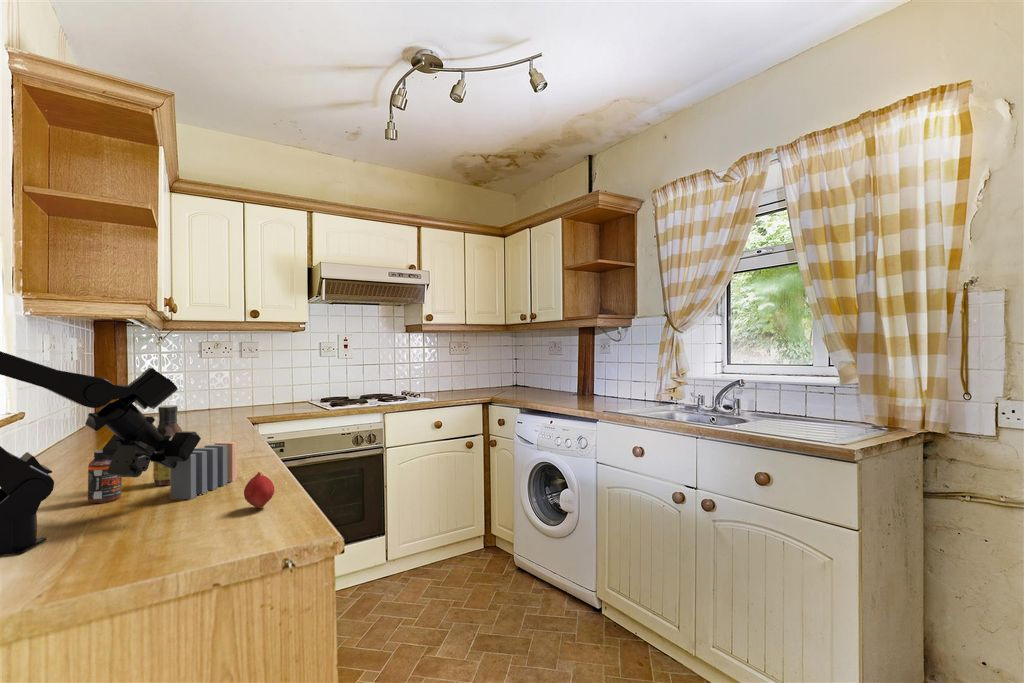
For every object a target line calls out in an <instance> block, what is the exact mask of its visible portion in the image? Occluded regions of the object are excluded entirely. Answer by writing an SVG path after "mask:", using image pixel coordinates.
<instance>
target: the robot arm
mask: <svg viewBox="0 0 1024 683" xmlns="http://www.w3.org/2000/svg"><path fill="white" fill-rule="evenodd" d="M0 375H1V376H4V377H7V378H11V379H14V380H17V381H21V382H24V383H27V384H31V385H34V386H38V387H41V388H43V389H46V390H48V391H49V392H52V393H53V394H56V395H58V396H60V397H61V398H64V399H66V400H68V401H71V402H72V403H75V404H76V405H78V406H81V407H86V408H90V409H97V408H100V409H98V410H97V411H95V412H90V413H88V415H87V419H86V422H85V426H87V427H88V428H90V429H91V430H93V431H95V432H98V431H100V430H101V429H102V428H104V427H106V428H107V429H109V430H110V431H111V433H113V435H112V436H111V438H109V440H108V441H107V443H106V444H105V445H104V446H103V448H102V450H103V456H104V457H106V458H107V459H108V460H111V463H110V465H109V468H108V473H109V474H112V475H116V476H121V477H122V478H138V477H140V476H141V475H142V474H143V472H146V471H148V470H149V469H148V468H149V467H150V464H151V463H153V462H156V463H159V464H161V465H164V466H166V467H169V468H175V467H176V466H177V461H182V462H184V461H186V460H188V458H189V457H190V455H191V454H192V452H193V451H194V449H195V448H197V446H198V444H199V442H200V441H201V439H202V438H201V436H200V435H199V434H198V433H197V432H196V431H187V430H186V431H185V430H184V431H183V430H182V431H181V432H176V434H175V435H174V437H173V436H172V435H164V434H165V433H166V430H165V429H164V428H157V426H155V424H154V422H155V420H156V419H155V418H154V416H145V415H144V413H142V411H140V410H139V408H141V409H143V410H146V409H148V408H149V409H152V410H154V409H156V408H157V407H159V406H161V404H162V403H163V402H164V401H166V400H167V399H168V398H170V397H171V396H172V395H173V394H175V393H176V392H177V391H178V387H177V386H176V384H175V383H174V382H173V381H172V380H171V379H170V378H167V377H166V376H164V375H163V374H162V373H160V372H158V371H157V370H156V369H155V368H154V367H149V368H147V369H145V370H144V371H143V372H142V374H141V375H139V376H138V377H137V378H135V379H134V380H133V381H131V382H130V383H129V384H121V383H118V384H113V383H112V382H111V381H110V380H109V379H106V378H105V377H99V376H93V375H87V374H81V373H76V372H71V371H66V370H65V371H64V370H59V369H56V368H52V367H50V366H46V365H44V364H41V363H37V362H34V361H31V360H28V359H25V358H22V357H19V356H16V355H13V354H9V353H7V352H4V351H1V350H0ZM113 400H114V401H113ZM111 401H113V402H111ZM134 403H135V405H134ZM136 405H137V406H138V407H139V408H137V407H136ZM172 437H173V438H172ZM52 473H53V470H51V469H50V468H48V467H47V466H45V465H43V464H40V462H39V461H38V460H37V458H36V457H35V455H32V454H31V453H29V452H25V453H24V454H23V455H21V457H19V456H16V455H15V454H13V453H11V452H9V451H8V450H6V449H5V448H3V447H2V446H1V445H0V556H11V555H20V554H24V553H26V552H28V551H29V550H31V549H33V548H35V547H36V546H38V545H40V544H43V543H44V542H45V541H47V537H46V536H43V537H37V536H38V534H37V533H38V530H37V528H38V526H37V525H38V524H37V523H38V520H37V519H38V517H37V516H38V515H37V512H38V510H39V507H40V505H41V503H42V502H43V501H45V500H46V499H48V497H49V496H50V495H51V494H52V492H53V490H54V486H55V481H54V479H53V478H52V476H51V475H50V474H52Z"/></svg>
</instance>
